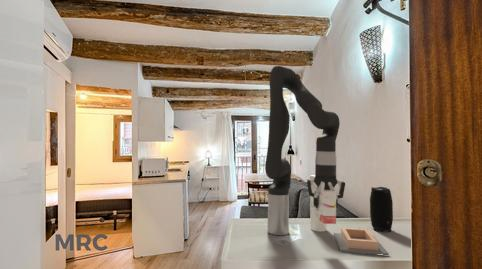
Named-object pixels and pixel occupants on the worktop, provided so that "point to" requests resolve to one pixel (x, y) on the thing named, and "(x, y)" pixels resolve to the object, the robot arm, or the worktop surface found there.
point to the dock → (358, 242)
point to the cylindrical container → (314, 222)
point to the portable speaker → (381, 209)
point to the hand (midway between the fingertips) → (325, 208)
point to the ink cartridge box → (326, 206)
